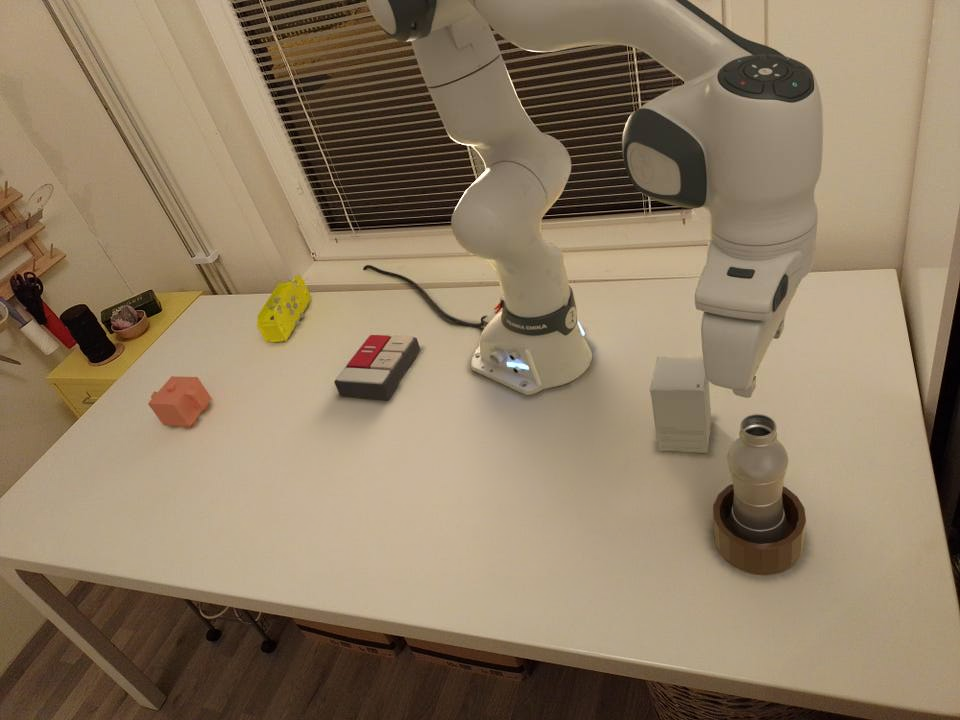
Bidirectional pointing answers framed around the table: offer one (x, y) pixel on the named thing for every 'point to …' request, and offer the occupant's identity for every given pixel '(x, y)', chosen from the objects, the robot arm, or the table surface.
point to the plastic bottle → (758, 481)
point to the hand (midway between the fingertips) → (759, 361)
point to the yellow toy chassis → (283, 310)
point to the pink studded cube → (180, 401)
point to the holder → (760, 555)
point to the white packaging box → (681, 404)
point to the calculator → (377, 367)
